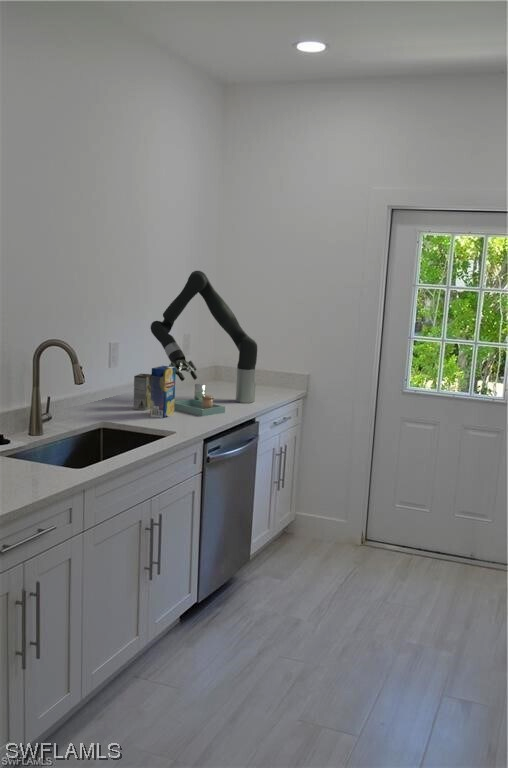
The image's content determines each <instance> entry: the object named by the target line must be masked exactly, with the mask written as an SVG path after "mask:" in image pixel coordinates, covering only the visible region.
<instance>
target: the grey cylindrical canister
mask: <svg viewBox="0 0 508 768" xmlns="http://www.w3.org/2000/svg"><path fill="white" fill-rule="evenodd" d="M206 386H207V385H206V384H204V383H195V384H194V396H193V397H194V398H193V399H194V400H199V401H202V396H204V395H206Z"/></svg>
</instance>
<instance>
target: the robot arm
mask: <svg viewBox="0 0 508 768" xmlns="http://www.w3.org/2000/svg"><path fill="white" fill-rule="evenodd" d="M198 294H199V295H200V296H201V297H202V299H203V300H204V302H205V304H206V306H207V308H208V310H209V312H210V314H211V315H212V317H213V318H214V320H215V321H216V322H217V323H218V325H219V326H220V327H221V328H222V329H223V331H225V333H227V335H228V336H229V337H230V338H231V340H232V341H233V344H235V347H236V348H237V349H238V352H239V355H238V362H237V364H236V365H237V368H236V385H235V386H236V389H235V402H236V403H241V404H250V403H251V404H252V403H254V402H255V398H256V397H255V396H256V382H255V379H256V378H255V377H256V375H255V374H256V364H257V359H258V344H257V342H256V341H255V340H254V339H253V338H252V337H250V336H249V335H248V334H247V333H246V332H245V330H244V329H243V327H241V325H240V322H239V321H238V319H237V317H236V315H235V314H234V313H233V311H232V309H231V308H230V307H229V305H228V304H227V303H226V302H225V300H224V298H222V297H221V296H220V294H219V293H218V292H217V291H216V290H215V288H214V286H213V285H212V283H211V282H210V280H209V279H208V277H207V275H206V274H205V273H204V272H203V271H201V270H193V271H192V272H191V273H190V275H189V276H188V278H187V282H186V283H185V286H184V287H183V289H181V292H180V293H179V294H178V295H177V297H175V299H174V300H173V301H171V302H170V304H169V305H168V306H167V308H166V309H165V311H163V313H162V317H163V320H162V321H161V320H155V321H152V323H151V324H150V331H151V334H152V335H153V336H154V337H155V339H156V340H157V341H158V342H159V343H160V344H161V346H162V348H163V350H164V352H165V354H166V356H167V358H168V360H169V361H170V363H169V365H168V366H170V367H176V375H177V377H178V378H179V380H180V381H181V382H184V380H185V376H184V374H183V372H188V373H189V374H190V375H191V377H192V379H193V380H196V379H198V375H197V373H196V371H197V370H198V369H197V367H196V366H195V364H194V363H193V361H192V360H189V361H187V360H186V356H185V354H184V353H183V351H182V349H181V347H180V345H179V344H178V343H177V341H176V339H175V337H174V336H173V335H171V334H170V332H171V331H172V328H173V326H174V324H175V321H176V320H177V319H178V318H179V316H180V315H181V314H182V313H183V312H184V310H185V309H186V307H187V305H188V304H189V303H190V301H191V300H193V299H194V297H195V296H196V295H198Z"/></svg>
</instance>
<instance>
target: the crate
mask: <svg viewBox="0 0 508 768" xmlns="http://www.w3.org/2000/svg"><path fill="white" fill-rule="evenodd" d="M174 411H179V412H181V413H187V414H191V415H195V416H196V415H197V416H199V417H206V416H213V415H219V414H225V413H226V406H225V405H220V404H217V403H213V408H208V409H202V401H199V400H194V398H191V399H184V400H176V401H175V402H174Z"/></svg>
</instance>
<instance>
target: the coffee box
mask: <svg viewBox="0 0 508 768" xmlns="http://www.w3.org/2000/svg"><path fill="white" fill-rule="evenodd" d="M151 375H152V373H151V374H150V373H149V374H148V373H139V374H136V375H134V377H133V378H134V380H133V407H132V408H133V410H135V409H139V410H138V411H147V410H150V405H151Z"/></svg>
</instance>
